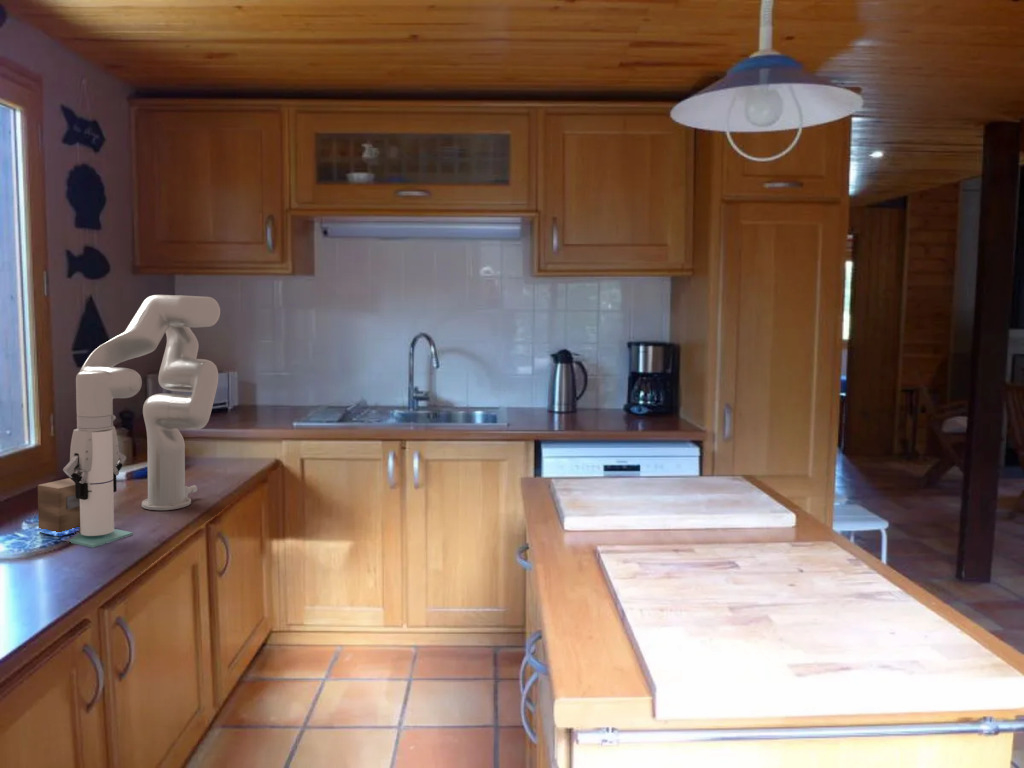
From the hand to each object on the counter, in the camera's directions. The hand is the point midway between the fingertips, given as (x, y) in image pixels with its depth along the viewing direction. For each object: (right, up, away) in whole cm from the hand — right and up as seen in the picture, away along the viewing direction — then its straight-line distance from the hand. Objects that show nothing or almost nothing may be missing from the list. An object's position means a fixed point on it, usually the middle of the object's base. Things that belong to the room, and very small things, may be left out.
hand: (96, 494), depth 178 cm
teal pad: (-1, -11, +1) cm, 11 cm away
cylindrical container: (0, -9, +1) cm, 9 cm away
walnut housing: (-10, -10, +7) cm, 15 cm away
